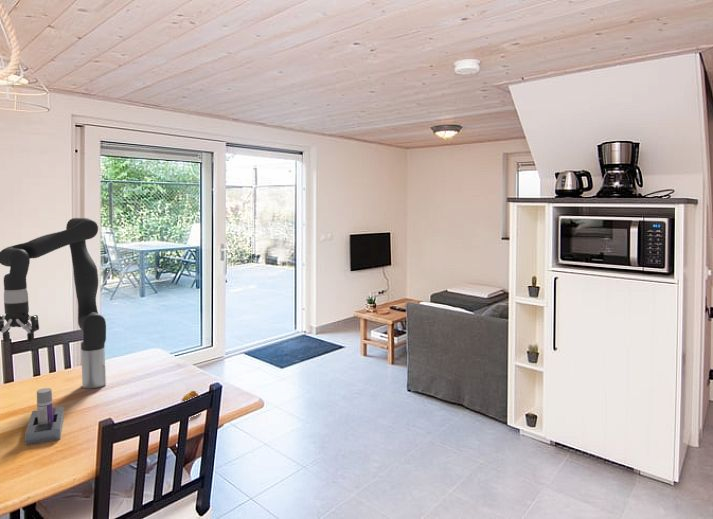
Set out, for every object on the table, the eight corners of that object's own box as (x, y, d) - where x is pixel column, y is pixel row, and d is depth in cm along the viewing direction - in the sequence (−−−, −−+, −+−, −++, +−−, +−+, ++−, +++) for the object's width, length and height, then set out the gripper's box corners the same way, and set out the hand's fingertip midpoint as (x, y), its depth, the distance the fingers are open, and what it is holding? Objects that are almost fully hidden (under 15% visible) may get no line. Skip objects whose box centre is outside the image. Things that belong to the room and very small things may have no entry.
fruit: (209, 404, 194) (200, 386, 195) (192, 413, 188) (184, 394, 188) (198, 409, 199) (190, 392, 200) (181, 418, 192) (173, 400, 193)
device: (63, 416, 185) (63, 406, 185) (60, 439, 168) (59, 428, 167) (32, 421, 180) (32, 410, 180) (25, 445, 163) (25, 434, 162)
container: (50, 425, 177) (48, 386, 176) (56, 429, 175) (54, 390, 173) (35, 430, 173) (34, 390, 172) (41, 434, 171) (39, 394, 169)
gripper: (41, 298, 187) (43, 339, 188) (3, 298, 186) (5, 339, 188) (29, 302, 179) (32, 345, 181) (-11, 302, 178) (-8, 344, 180)
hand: (18, 342), depth 184 cm, fingers open, 8 cm apart
